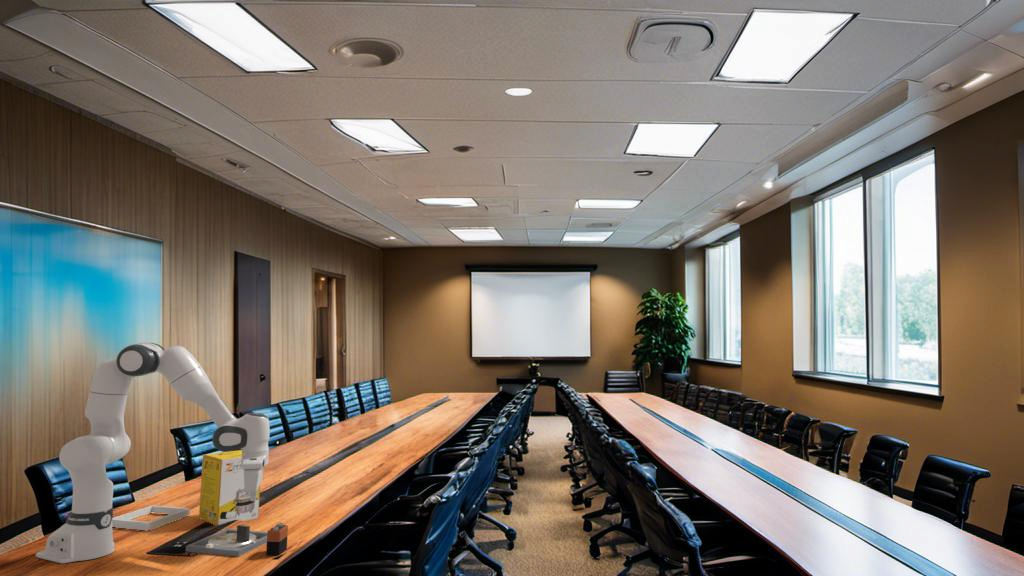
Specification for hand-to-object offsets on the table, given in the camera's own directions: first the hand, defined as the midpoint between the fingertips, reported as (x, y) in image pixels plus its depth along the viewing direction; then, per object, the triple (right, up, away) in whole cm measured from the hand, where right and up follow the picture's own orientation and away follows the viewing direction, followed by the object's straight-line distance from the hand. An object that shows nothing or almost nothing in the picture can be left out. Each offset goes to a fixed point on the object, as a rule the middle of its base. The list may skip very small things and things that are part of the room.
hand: (253, 500), depth 211 cm
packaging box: (-23, -18, +31) cm, 43 cm away
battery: (+13, -15, -12) cm, 23 cm away
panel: (-5, -15, -5) cm, 16 cm away
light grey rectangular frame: (-51, -17, +25) cm, 59 cm away
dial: (-5, -14, -5) cm, 15 cm away
